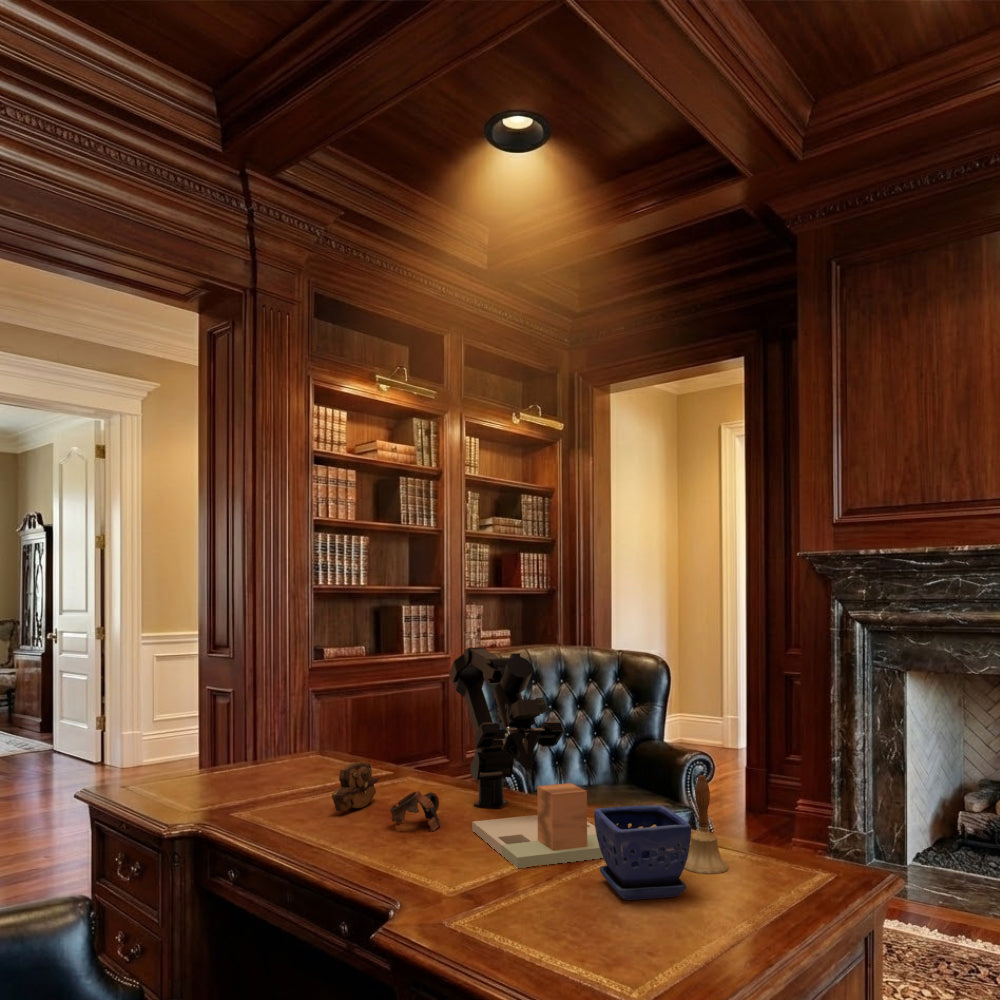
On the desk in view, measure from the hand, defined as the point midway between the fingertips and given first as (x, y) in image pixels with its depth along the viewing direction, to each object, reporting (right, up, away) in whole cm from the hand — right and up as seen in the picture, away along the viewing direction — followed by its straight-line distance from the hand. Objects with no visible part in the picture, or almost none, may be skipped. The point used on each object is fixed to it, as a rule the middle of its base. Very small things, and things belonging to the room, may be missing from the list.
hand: (529, 770), depth 177 cm
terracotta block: (+6, -9, -15) cm, 18 cm away
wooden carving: (-38, -15, +18) cm, 45 cm away
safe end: (+6, -11, -16) cm, 20 cm away
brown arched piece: (-23, -13, +4) cm, 27 cm away
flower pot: (+18, -10, -34) cm, 39 cm away
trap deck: (+2, -12, -4) cm, 13 cm away
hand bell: (+31, -11, -22) cm, 39 cm away
